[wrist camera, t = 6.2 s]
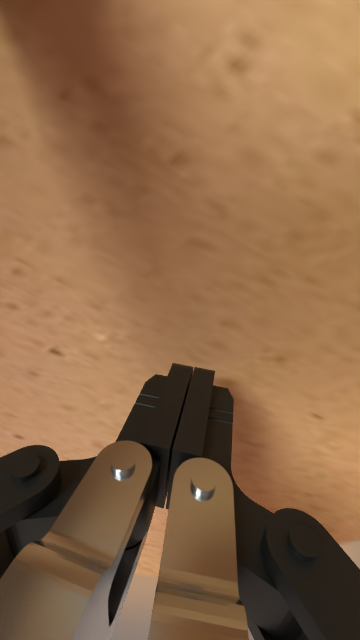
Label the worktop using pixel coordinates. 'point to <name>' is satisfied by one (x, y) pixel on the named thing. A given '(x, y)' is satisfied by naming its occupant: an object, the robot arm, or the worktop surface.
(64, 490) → the robot arm
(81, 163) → the worktop surface
